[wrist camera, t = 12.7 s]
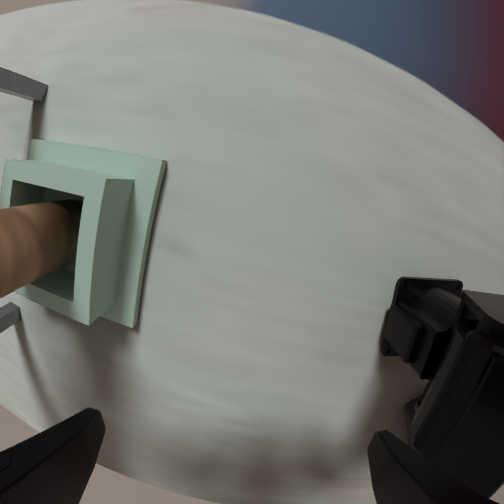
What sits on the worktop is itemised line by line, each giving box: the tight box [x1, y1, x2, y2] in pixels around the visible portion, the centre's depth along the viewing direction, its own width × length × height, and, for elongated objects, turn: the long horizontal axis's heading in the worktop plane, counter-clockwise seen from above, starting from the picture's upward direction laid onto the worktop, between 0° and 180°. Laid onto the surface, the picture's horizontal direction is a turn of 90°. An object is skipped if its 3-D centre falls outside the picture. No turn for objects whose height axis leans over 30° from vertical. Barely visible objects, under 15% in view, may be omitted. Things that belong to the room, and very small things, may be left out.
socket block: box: [0, 139, 167, 328], centre depth 17 cm, size 12×12×5 cm
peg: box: [0, 199, 83, 298], centre depth 12 cm, size 4×4×12 cm
